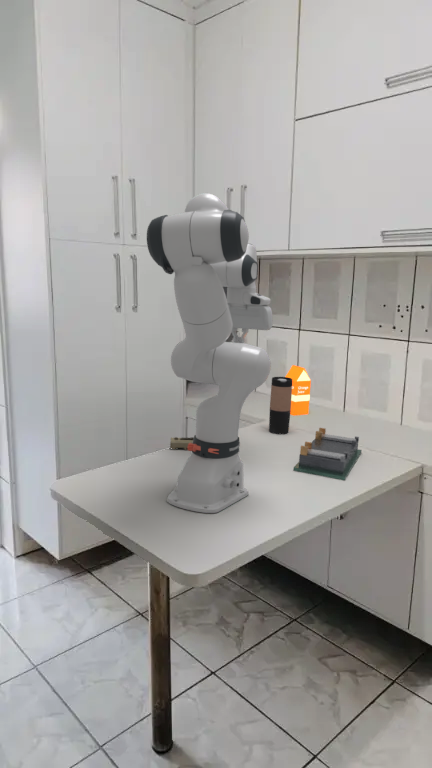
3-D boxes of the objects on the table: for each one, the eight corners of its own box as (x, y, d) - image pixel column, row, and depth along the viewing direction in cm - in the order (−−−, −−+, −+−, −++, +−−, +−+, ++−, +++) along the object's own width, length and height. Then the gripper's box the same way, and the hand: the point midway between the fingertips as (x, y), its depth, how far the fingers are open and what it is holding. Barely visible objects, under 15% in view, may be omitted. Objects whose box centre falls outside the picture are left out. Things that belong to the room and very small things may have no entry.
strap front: (343, 460, 150) (343, 457, 150) (302, 453, 155) (302, 450, 155) (345, 457, 153) (345, 454, 153) (305, 450, 158) (305, 448, 158)
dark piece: (344, 480, 147) (346, 456, 146) (293, 470, 153) (295, 447, 152) (361, 452, 172) (363, 432, 171) (316, 445, 178) (318, 425, 177)
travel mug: (277, 427, 198) (280, 375, 195) (293, 432, 193) (297, 379, 189) (264, 430, 193) (267, 377, 189) (280, 435, 188) (284, 381, 184)
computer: (217, 444, 176) (217, 435, 176) (218, 452, 169) (219, 442, 168) (170, 443, 175) (170, 434, 175) (170, 451, 167) (170, 441, 167)
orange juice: (293, 415, 217) (297, 368, 213) (281, 410, 225) (284, 365, 221) (308, 414, 221) (312, 367, 217) (296, 409, 229) (299, 364, 225)
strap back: (354, 443, 166) (354, 441, 166) (317, 437, 171) (317, 435, 171) (356, 441, 169) (356, 438, 169) (319, 435, 174) (319, 433, 174)
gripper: (206, 296, 161) (204, 340, 164) (268, 299, 153) (266, 346, 156) (214, 296, 167) (213, 339, 170) (275, 299, 159) (272, 344, 162)
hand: (239, 342), depth 163 cm, fingers closed
